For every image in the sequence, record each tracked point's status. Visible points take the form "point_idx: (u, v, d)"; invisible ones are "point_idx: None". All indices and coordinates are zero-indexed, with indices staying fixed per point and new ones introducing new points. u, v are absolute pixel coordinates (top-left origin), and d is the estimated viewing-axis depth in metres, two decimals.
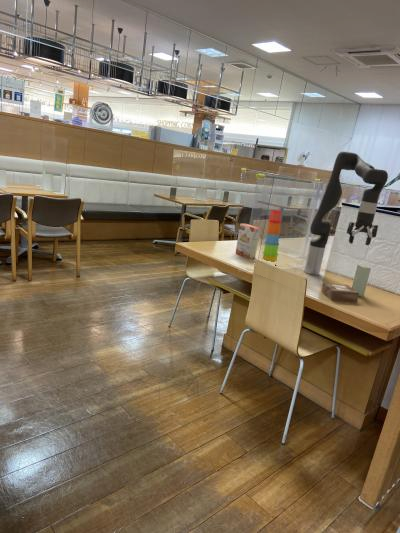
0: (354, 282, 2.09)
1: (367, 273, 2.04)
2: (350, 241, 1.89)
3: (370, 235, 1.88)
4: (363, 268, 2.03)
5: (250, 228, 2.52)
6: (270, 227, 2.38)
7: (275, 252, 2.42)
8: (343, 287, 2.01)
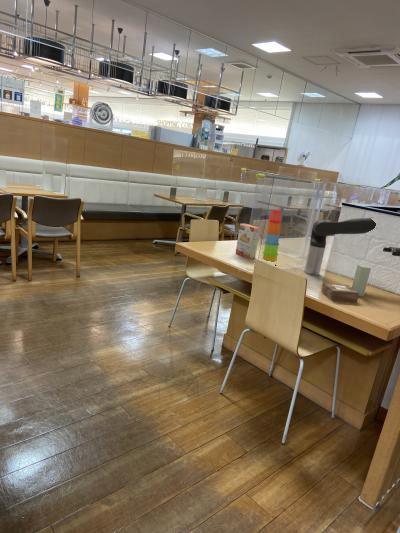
0: (354, 282, 2.09)
1: (367, 273, 2.04)
2: (394, 255, 2.00)
3: (391, 252, 2.09)
4: (363, 268, 2.03)
5: (250, 228, 2.52)
6: (270, 227, 2.38)
7: (275, 252, 2.42)
8: (343, 287, 2.01)
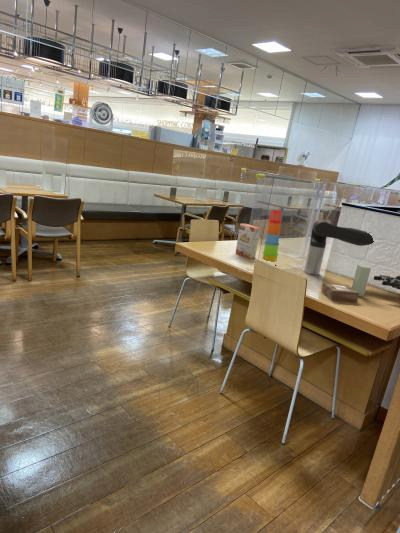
0: (354, 282, 2.09)
1: (367, 273, 2.04)
2: (384, 284, 2.04)
3: (382, 280, 2.13)
4: (363, 268, 2.03)
5: (250, 228, 2.52)
6: (270, 227, 2.38)
7: (275, 252, 2.42)
8: (343, 287, 2.01)
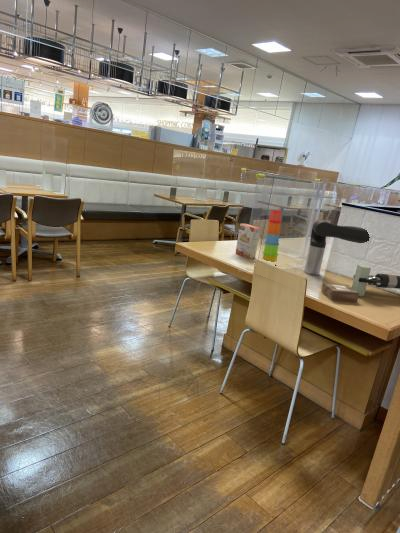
0: (354, 282, 2.09)
1: (367, 273, 2.04)
2: (361, 281, 2.04)
3: None
4: (363, 268, 2.03)
5: (250, 228, 2.52)
6: (270, 227, 2.38)
7: (275, 252, 2.42)
8: (343, 287, 2.01)
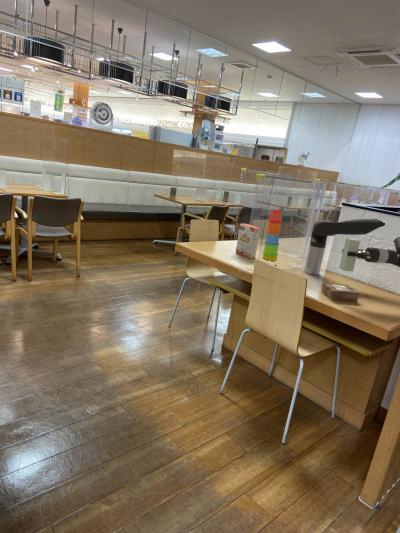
0: (343, 256, 1.96)
1: (356, 246, 1.91)
2: (349, 255, 1.91)
3: None
4: (352, 241, 1.90)
5: (250, 228, 2.52)
6: (270, 227, 2.38)
7: (275, 252, 2.42)
8: (343, 287, 2.01)
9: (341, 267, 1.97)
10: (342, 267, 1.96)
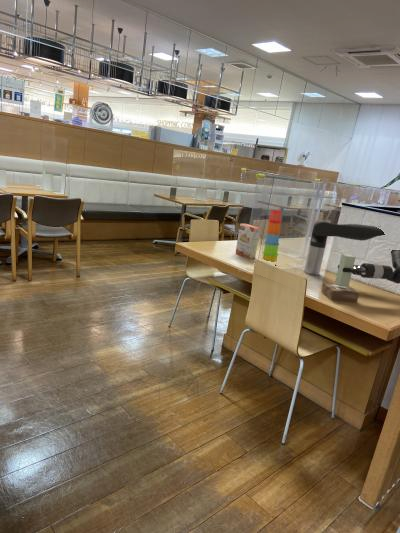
0: (338, 272, 1.98)
1: (351, 262, 1.93)
2: (345, 271, 1.93)
3: None
4: (347, 257, 1.92)
5: (250, 228, 2.52)
6: (270, 227, 2.38)
7: (275, 252, 2.42)
8: (343, 287, 2.01)
9: (337, 282, 1.99)
10: (337, 283, 1.98)
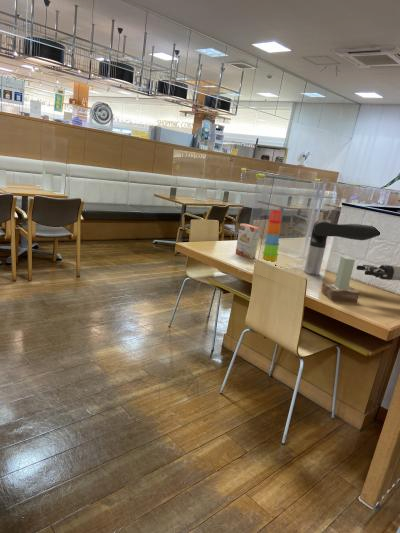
0: (338, 275, 1.99)
1: (351, 265, 1.94)
2: (367, 274, 1.93)
3: (365, 270, 2.03)
4: (346, 260, 1.93)
5: (250, 228, 2.52)
6: (270, 227, 2.38)
7: (275, 252, 2.42)
8: None
9: (336, 285, 1.99)
10: (337, 285, 1.98)
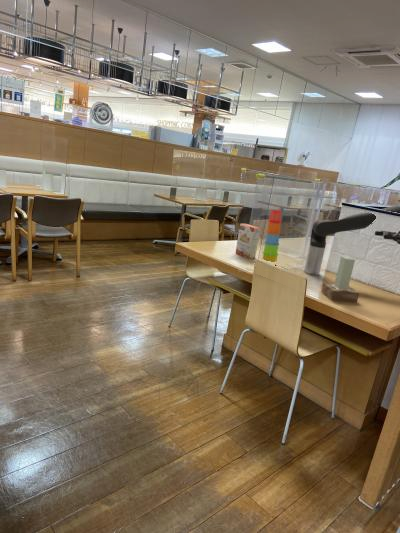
0: (338, 275, 1.99)
1: (351, 265, 1.94)
2: None
3: (383, 236, 2.03)
4: (346, 260, 1.93)
5: (250, 228, 2.52)
6: (270, 227, 2.38)
7: (275, 252, 2.42)
8: None
9: (336, 285, 1.99)
10: (337, 285, 1.98)
